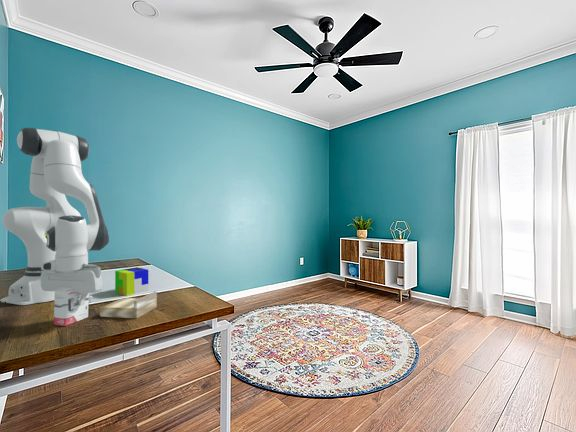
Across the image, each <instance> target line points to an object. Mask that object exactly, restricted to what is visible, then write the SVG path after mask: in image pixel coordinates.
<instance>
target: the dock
mask: <svg viewBox="0 0 576 432" xmlns="http://www.w3.org/2000/svg"><path fill="white" fill-rule="evenodd" d="M157 299H158V292H157V291H152V292H150V293H149V294H146V295H144V296H142V297H139V298H135V297H133V298H131V297H122V298H121V299H118V300H115V301H113V302H111V303H108V304H106V305H104V306H100V307H99V317H102V318H118V319H119V318H123V319H138V318H140V317H142V316H143V315H146V314H147V313H149V312H151V311H152V310H154V309H156V308H157V306H158V304H157V302H158V300H157Z"/></svg>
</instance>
